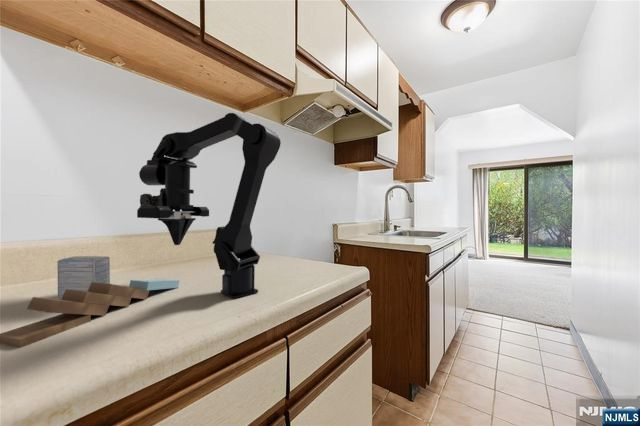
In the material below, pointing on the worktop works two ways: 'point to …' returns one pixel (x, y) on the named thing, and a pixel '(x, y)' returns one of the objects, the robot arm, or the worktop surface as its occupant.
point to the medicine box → (82, 272)
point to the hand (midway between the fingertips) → (177, 244)
